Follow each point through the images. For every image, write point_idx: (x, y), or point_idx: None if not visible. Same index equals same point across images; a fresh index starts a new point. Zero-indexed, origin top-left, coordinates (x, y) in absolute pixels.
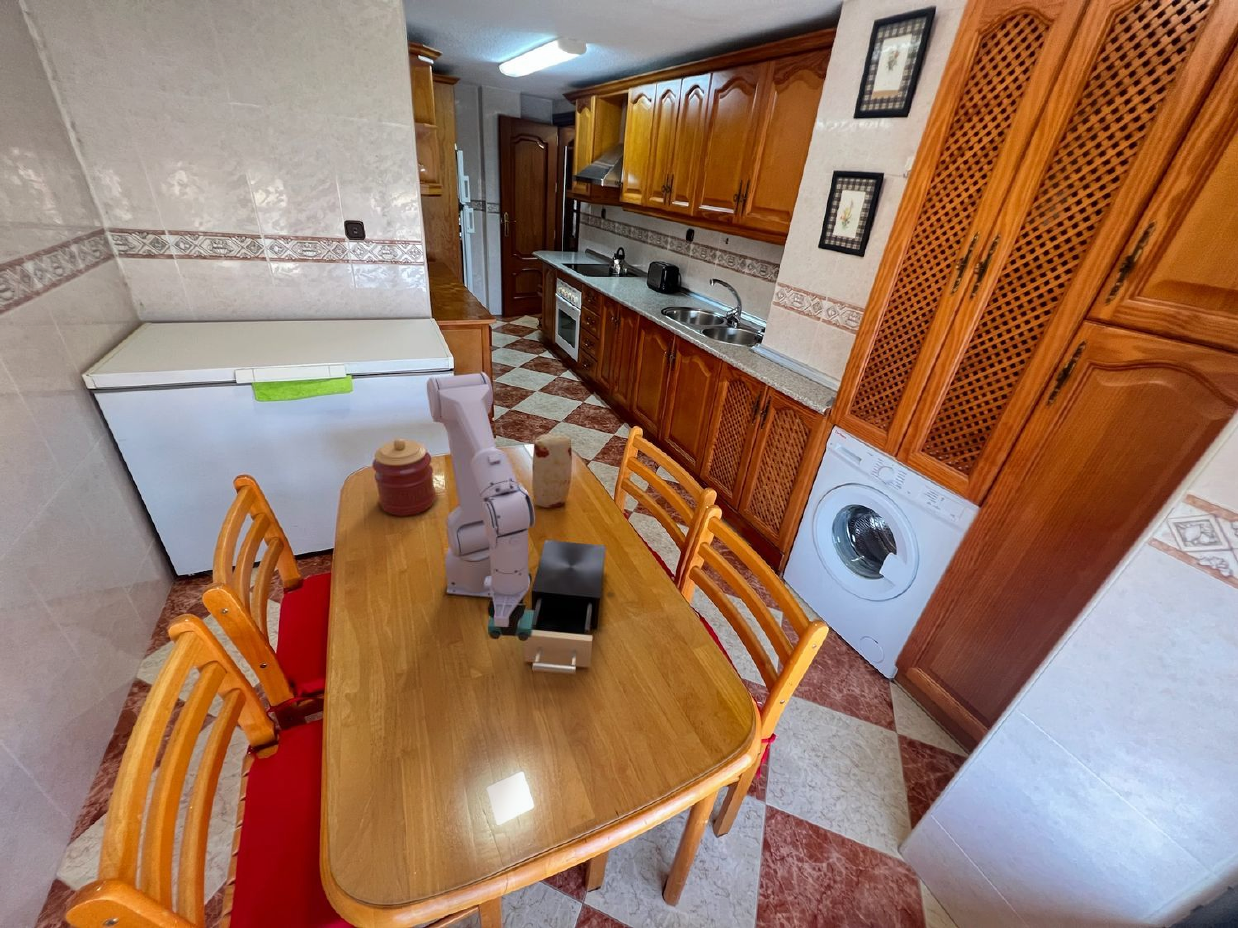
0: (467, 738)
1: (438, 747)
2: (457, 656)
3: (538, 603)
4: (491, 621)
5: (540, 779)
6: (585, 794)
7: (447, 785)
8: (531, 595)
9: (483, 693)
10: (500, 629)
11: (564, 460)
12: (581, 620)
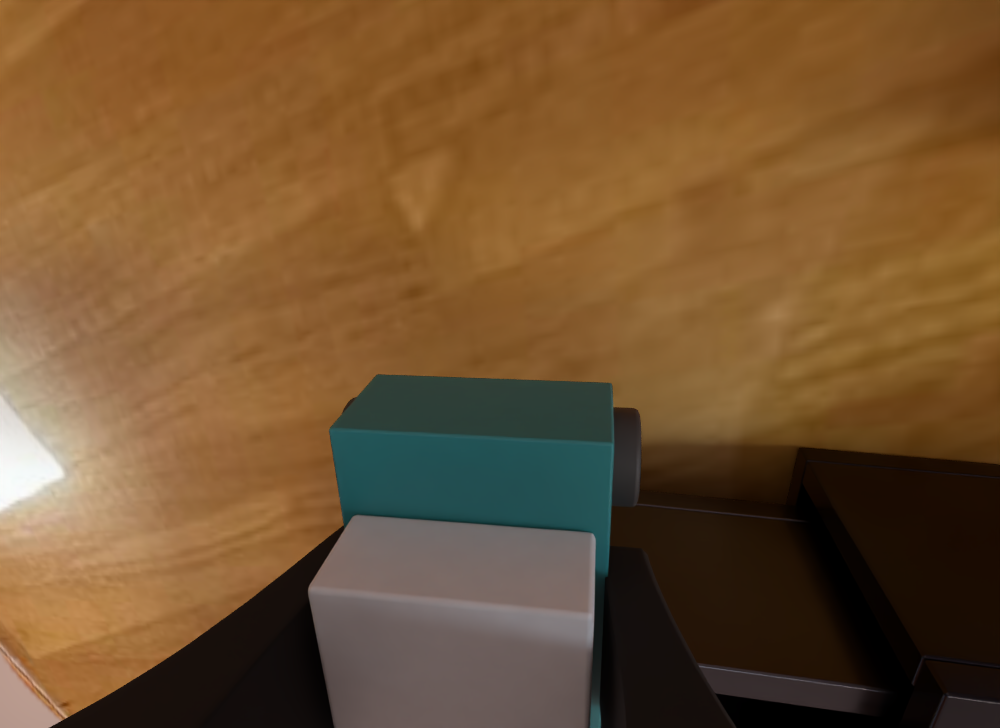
0: (95, 244)
1: (14, 119)
2: (526, 27)
3: (797, 692)
4: (402, 456)
5: (63, 527)
6: (75, 641)
7: None
8: (913, 642)
9: (313, 264)
10: (290, 568)
11: None
12: (762, 722)
